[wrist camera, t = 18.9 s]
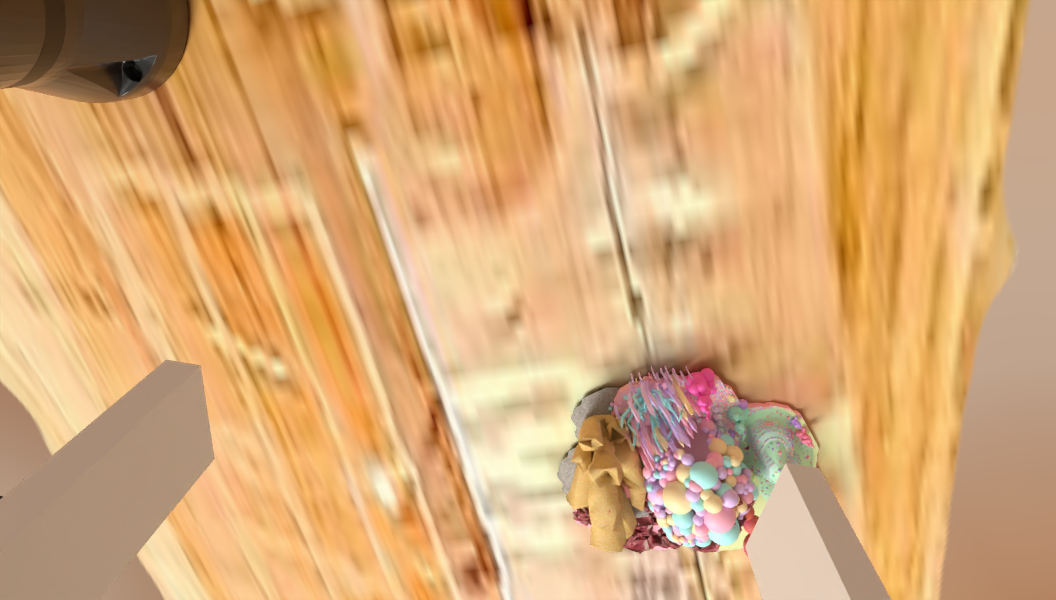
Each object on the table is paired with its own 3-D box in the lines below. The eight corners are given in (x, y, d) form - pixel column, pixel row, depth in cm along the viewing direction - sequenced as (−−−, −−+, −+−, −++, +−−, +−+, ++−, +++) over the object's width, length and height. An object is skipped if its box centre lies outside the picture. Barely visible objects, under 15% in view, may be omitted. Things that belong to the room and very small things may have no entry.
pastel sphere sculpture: (567, 546, 62) (566, 627, 53) (545, 369, 51) (539, 436, 43) (804, 541, 59) (842, 627, 50) (832, 352, 48) (885, 421, 40)
